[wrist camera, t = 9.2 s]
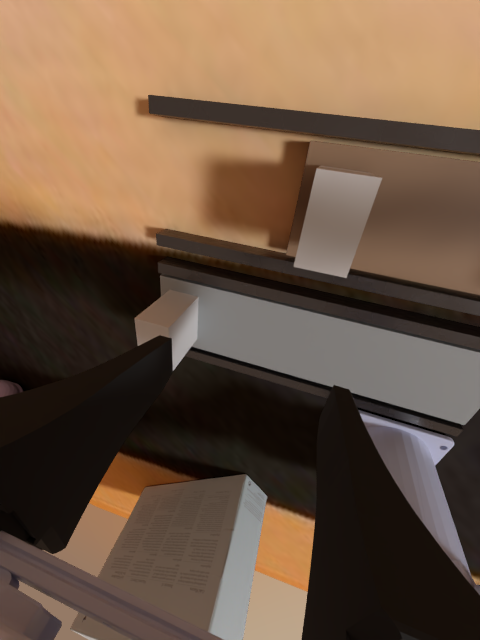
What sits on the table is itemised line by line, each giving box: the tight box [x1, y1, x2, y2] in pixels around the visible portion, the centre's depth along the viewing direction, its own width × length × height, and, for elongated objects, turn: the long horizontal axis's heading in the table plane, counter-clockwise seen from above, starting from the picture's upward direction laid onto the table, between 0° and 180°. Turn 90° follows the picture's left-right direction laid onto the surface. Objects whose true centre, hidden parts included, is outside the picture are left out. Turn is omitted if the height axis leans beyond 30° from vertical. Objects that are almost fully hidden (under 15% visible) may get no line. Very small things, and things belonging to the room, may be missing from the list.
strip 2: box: [135, 274, 480, 425], centre depth 18 cm, size 6×24×6 cm, turn 83°
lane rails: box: [148, 95, 480, 436], centre depth 18 cm, size 18×24×1 cm
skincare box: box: [70, 474, 267, 640], centre depth 32 cm, size 21×5×16 cm, turn 126°
